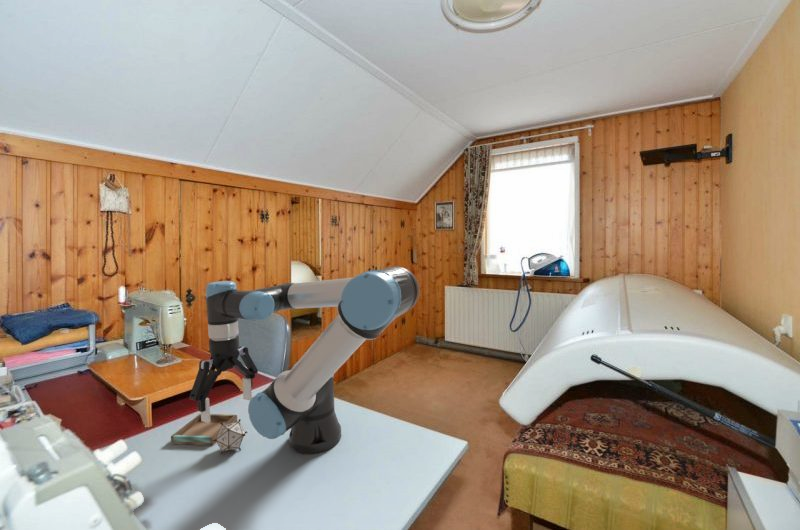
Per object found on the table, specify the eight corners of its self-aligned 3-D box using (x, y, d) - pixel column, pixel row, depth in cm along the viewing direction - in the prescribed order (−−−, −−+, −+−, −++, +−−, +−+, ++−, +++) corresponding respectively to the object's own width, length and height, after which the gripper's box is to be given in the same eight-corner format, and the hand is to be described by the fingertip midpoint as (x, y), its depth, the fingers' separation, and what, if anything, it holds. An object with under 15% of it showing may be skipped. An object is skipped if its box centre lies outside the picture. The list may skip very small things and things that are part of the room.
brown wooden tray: (237, 421, 115) (237, 414, 115) (212, 445, 102) (212, 437, 102) (200, 420, 116) (199, 413, 116) (171, 443, 103) (170, 436, 103)
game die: (234, 465, 99) (229, 450, 93) (209, 451, 100) (202, 436, 94) (255, 435, 106) (252, 420, 99) (231, 423, 107) (226, 407, 101)
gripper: (250, 324, 110) (253, 389, 112) (169, 348, 88) (175, 429, 90) (268, 327, 107) (271, 393, 109) (189, 352, 85) (194, 436, 86)
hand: (228, 409), depth 99 cm, fingers open, 13 cm apart
